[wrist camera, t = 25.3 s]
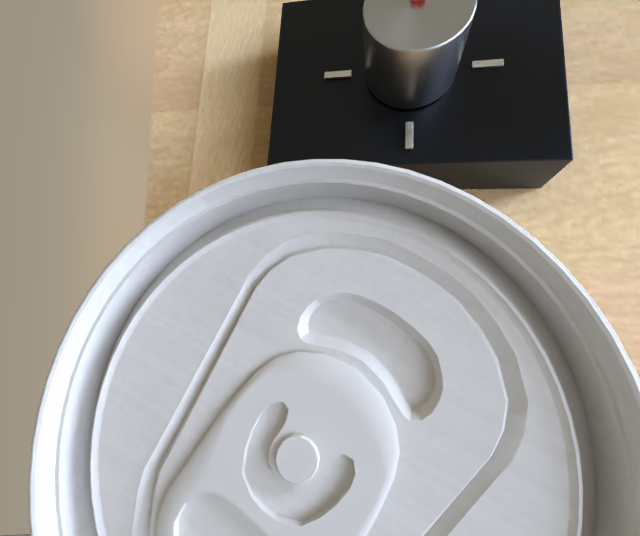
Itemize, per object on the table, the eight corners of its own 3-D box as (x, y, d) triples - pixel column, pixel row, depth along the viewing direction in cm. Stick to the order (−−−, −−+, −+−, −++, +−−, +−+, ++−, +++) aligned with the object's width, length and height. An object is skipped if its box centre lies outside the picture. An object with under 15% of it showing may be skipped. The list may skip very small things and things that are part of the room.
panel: (282, 191, 20) (265, 165, 17) (295, 47, 22) (281, -1, 18) (540, 188, 17) (576, 157, 14) (530, 25, 19) (559, -33, 16)
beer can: (447, 336, 17) (924, 368, 2) (380, 439, 16) (424, 1302, 2) (348, 271, 18) (240, 29, 4) (284, 364, 18) (-119, 509, 3)
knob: (460, 104, 16) (486, 34, 12) (366, 114, 16) (364, 51, 13) (452, 26, 17) (474, -62, 13) (363, 39, 17) (360, -40, 14)
